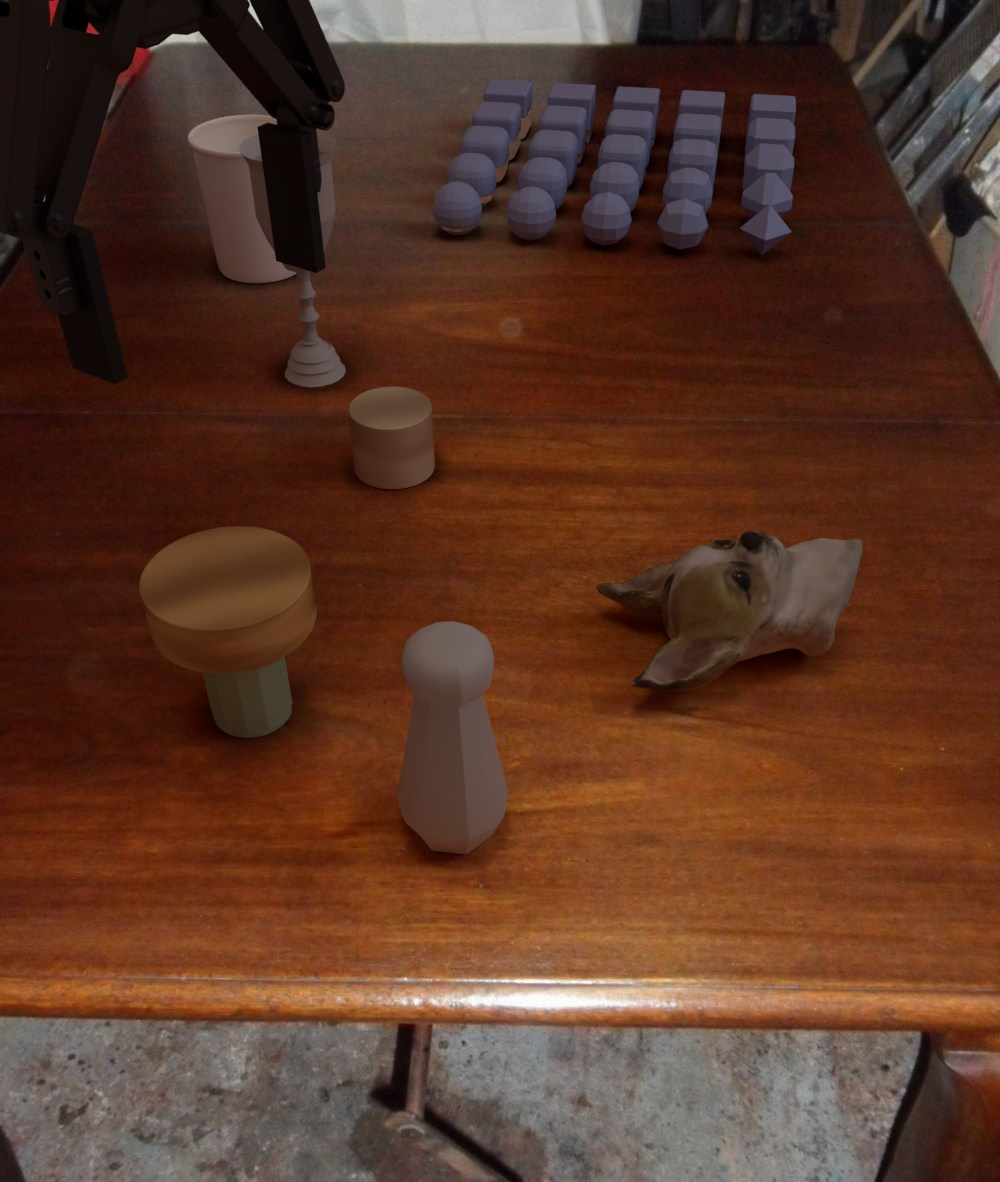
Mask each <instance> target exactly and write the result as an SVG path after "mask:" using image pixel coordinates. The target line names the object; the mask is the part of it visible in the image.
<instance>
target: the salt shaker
mask: <svg viewBox="0 0 1000 1182" xmlns="http://www.w3.org/2000/svg"><path fill="white" fill-rule="evenodd" d="M493 650H494V649H493V647H492V645H491V643H490V641H489V638H488V636H487V635H486V634H484V633H483V632H481V631H480V630H478V629H477V628H476V627H474V626H472V625H470V624H466V623H464V622H458V621H455V620H449V621H437V622H434V623H431V624H428V625H426V626H423V627H421V628H419V629H417V630H416V631H415V632H414V633H413V634H412V635H411V636H410V637H408V639H407V640H406V642H405V646H404V648H403V652H402V656H401V662H400V665H401V670H402V675H403V678H404V680H405V683H406V685H407V688H408V689H409V691H410V693H411V694H413V701H412V708H411V713H410V718H409V725H408V729H407V735H406V741H405V747H404V753H403V758H402V759H403V760H402V765H401V769H400V775H399V781H398V785H397V792H396V799H395V800H396V801H397V803H398V807H399V810H400V812H401V815H402V818H403V820H404V823H405V824H406V825H407V826H408V827H409V828H410V829H412V831H414V832H415V833H416V834H417V835H418V836H420V838H421V839H422V840H423V842H425V844H426V845H427V847H428V848H429V849H430V850H431V851H432V852H439V853H449V854H458V855H468V854H469V853H471V852H472V851H473V850H474V849H475V848H477V847H478V846H480V845H481V844H483V843H484V842H485V841H487V840H489V838H491V837H492V836H493V834H494V833H495V831H496V830H497V828H498V827H499V825H500V824H501V823H502V820H503V819H504V818H505V815H506V809H507V803H508V800H509V799H508V798H509V793H510V790H509V787H508V786H509V785H508V782H507V779H506V776H505V771H504V768H503V764H502V761H501V757H500V754H499V749H498V745H497V742H496V738H495V735H494V731H493V728H492V723H491V720H490V716H489V713H488V712H489V711H488V709H487V705H486V701H485V697H484V694H485V692H486V691H487V690H488V689H489V688H490V686H491V684H492V680H493V676H494V670H495V654H494V651H493Z"/></svg>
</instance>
